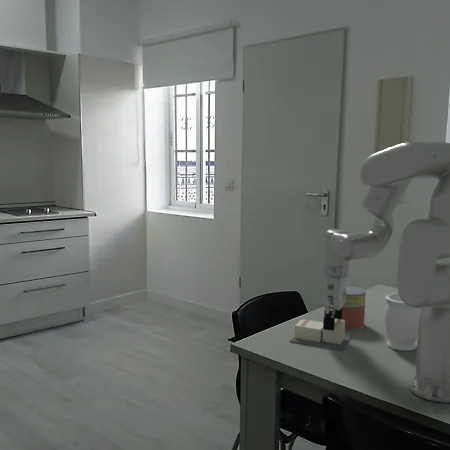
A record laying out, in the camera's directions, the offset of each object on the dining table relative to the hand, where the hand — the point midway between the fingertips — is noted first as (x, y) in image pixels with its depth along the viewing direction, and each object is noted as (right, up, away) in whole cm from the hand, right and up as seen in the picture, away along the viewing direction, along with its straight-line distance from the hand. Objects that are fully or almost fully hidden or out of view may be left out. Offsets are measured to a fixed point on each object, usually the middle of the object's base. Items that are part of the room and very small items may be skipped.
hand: (332, 324), depth 153 cm
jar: (+20, -6, -3) cm, 21 cm away
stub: (0, -5, 0) cm, 5 cm away
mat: (-3, -5, +2) cm, 6 cm away
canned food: (+9, -3, +17) cm, 19 cm away
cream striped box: (-6, -5, +3) cm, 9 cm away
